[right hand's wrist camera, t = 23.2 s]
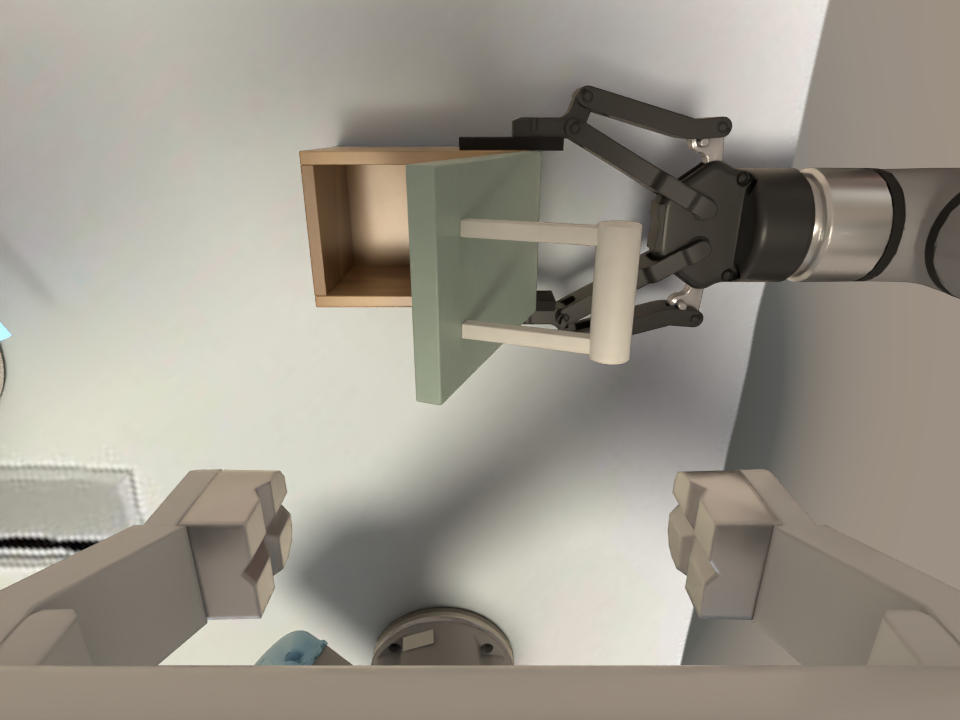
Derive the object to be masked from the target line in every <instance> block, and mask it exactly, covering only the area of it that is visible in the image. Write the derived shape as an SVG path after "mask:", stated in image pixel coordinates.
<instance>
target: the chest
mask: <svg viewBox="0 0 960 720" xmlns="http://www.w3.org/2000/svg"><path fill="white" fill-rule="evenodd" d="M519 151H529V150H459V146H335V147H329V148H321V149H313V150H305V151H299V155H300V164H301V174H302V183H303V192H304V201H305V211H306V220H307V229H308V238H309V247H310V256H311V265H312V275H313V284H314V293H315V301H316V307H412V294H411V272H410V251H409V229H408V207H407V186H406V165H408V164H416V163H425V162H433V161H442V160H451V159H459V158H468V157H476V156H485V155H494V154H502V153H511V152H519Z"/></svg>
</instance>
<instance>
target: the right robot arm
mask: <svg viewBox="0 0 960 720" xmlns="http://www.w3.org/2000/svg"><path fill="white" fill-rule="evenodd" d="M10 336H11V334H10V333H9V332H8V331H7V330H6V329H5V327H4V326H3V325H2V324H1V323H0V340H3V339H5V338H8V337H10ZM3 382H4V366H3V360H2V356H1V352H0V394H1V391H2V388H3ZM286 494H287V488H286V483H285V477H284V475H283V474H282V473H281V471H263V470H221V469H211V470H193V471H189V473H188V474H187V475H186V476H185V477H184V478H183V479H182V481H181V482H180V483H179V484H178V485H177V486H176V488H175V489H174V490H173V491H172V492H171V493H170V494H169V496H168V497H167V498H166V499H165V500H164V501H163V503H162V504H161V505H160V506H159V507H158V508H157V510H156V511H155V512H154V513H153V514H152V515H151V517H150V518H149V519H148V520H147V521H146V522H145V524H144V525H135V526H131V527H129V528H127V529H125V530H123V531H121V532H119V533H117V534H115V535H113V536H111V537H109V538H107V539H105V540H103V541H101V542H99V543H97V544H95V545H92V546H90V547H88V548H86V549H84V550H82V551H80V552H78V553H76V554H74V555H72V556H70V557H68V558H66V559H64V560H62V561H60V562H58V563H56V564H53V565H51V566H49V567H47V568H45V569H43V570H41V571H39V572H37V573H35V574H33V575H31V576H29V577H27V578H25V579H23V580H21V581H19V582H17V583H15V584H12V585H10V586H8V587H6V588H4V589H2V590H0V720H960V591H959V590H957V589H955V588H953V587H951V586H949V585H947V584H945V583H943V582H941V581H939V580H937V579H935V578H933V577H931V576H929V575H927V574H925V573H923V572H921V571H919V570H916V569H914V568H912V567H910V566H908V565H906V564H904V563H902V562H900V561H898V560H896V559H894V558H892V557H890V556H888V555H886V554H884V553H882V552H880V551H878V550H876V549H874V548H871V547H869V546H867V545H865V544H863V543H861V542H859V541H857V540H855V539H853V538H851V537H849V536H847V535H845V534H843V533H841V532H839V531H837V530H835V529H833V528H831V527H829V526H825V525H816V524H815V523H814V521H813V520H812V519H811V518H810V517H809V516H808V514H807V513H806V512H805V511H804V510H803V509H802V507H801V506H800V505H799V504H798V503H797V502H796V500H795V499H794V498H793V497H792V496H791V495H790V493H789V492H788V491H787V490H786V489H785V488H784V486H783V485H782V484H781V483H780V482H779V481H778V479H777V478H776V477H775V476H774V475H773V474H772V473H771V472H770V471H768V470H765V469H754V470H730V471H690V472H678V473H677V475H676V478H675V481H674V487H673V494H674V496H675V498H676V500H677V502H678V504H679V505H678V506H677V507H676V508H675V509H674V510H673V511H672V512H671V513H670V515H669V524H668V540H669V548H670V552H671V556H672V559H673V561H674V564H675V566H676V568H677V569H678V570H679V571H681V572H682V573H684V574H685V575H686V576H687V579H686V586H685V589H686V591H687V593H688V595H689V597H690V600H691V602H692V604H693V606H694V608H695V610H696V613H697V615H698V617H699V618H700V619H735V620H753V623H754V624H755V625H756V626H757V627H758V628H760V629H761V630H762V631H763V632H764V633H765V634H767V635H768V636H769V637H770V638H771V639H772V640H774V641H775V642H776V643H777V644H778V645H780V646H781V647H782V648H783V649H784V650H785V651H787V652H788V653H789V654H790V655H791V656H792V657H794V658H795V659H796V660H797V661H798V662H800V663H801V664H802V665H686V666H685V665H556V666H266V665H158V664H159V663H161V662H162V661H163V660H164V659H165V658H167V657H168V656H169V655H170V654H171V653H172V652H174V651H175V650H176V649H177V648H178V647H180V646H181V645H182V644H183V643H184V642H185V641H187V640H188V639H189V638H190V637H191V636H192V635H194V634H195V633H196V632H197V631H198V630H200V629H201V628H202V627H203V626H204V625H205V624H207V620H224V619H259V618H261V617H262V615H263V613H264V610H265V608H266V606H267V604H268V602H269V599H270V597H271V595H272V593H273V591H274V588H275V586H274V579H273V576H274V575H275V574H276V573H278V572H279V571H281V570H282V569H283V568H284V566H285V564H286V561H287V559H288V556H289V552H290V546H291V541H292V523H291V515H290V513H289V512H288V511H287V510H286V509H285V508H284V507H283V506H282V505H281V504H282V502H283V500H284V498H285V496H286Z"/></svg>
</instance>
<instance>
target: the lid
mask: <svg viewBox="0 0 960 720" xmlns="http://www.w3.org/2000/svg"><path fill="white" fill-rule="evenodd" d="M540 175H541V152H540V151H519V152H511V153H502V154H494V155H485V156H476V157H468V158H459V159H451V160H442V161H433V162H425V163H416V164H408V165H406V186H407V207H408V229H409V251H410V272H411V294H412V316H413V337H414V359H415V381H416V400H417V401H418V402H424V403H430V404H436V405H442V404H443V403H444V402H445V401H446V400H447V399H448V398H449V397H450V396H451V395H452V394H453V393H454V392H455V391H456V390H457V389H458V388H459V387H460V386H461V385H462V384H463V383H464V382H465V381H466V380H467V379H468V378H469V377H470V376H471V375H472V374H473V373H474V372H475V371H476V370H477V369H478V368H479V367H480V366H481V365H482V364H483V363H484V362H485V361H486V360H487V359H488V358H489V357H490V356H491V355H492V354H493V353H494V352H495V351H496V350H497V349H498V348H499V347H500V346H501V345H502V344H503V343H505V344H513V345H520V346H528V347H536V348H544V349H552V350H560V351H568V352H576V353H584V354H588V356H589V358H590V359H591V360H593V361H595V362H598V363H602V364H610V365H615V364H622V363H625V362H627V361H628V360H629V357H630V347H631V337H632V327H633V317H634V307H635V296H636V286H637V276H638V266H639V256H640V246H641V236H642V224H640V223H638V222H632V221H602V222H599V223H598V225H586V224H567V223H548V222H539V204H540ZM538 242H545V243H560V244H576V245H591V246H596V253H595V267H594V281H593V295H592V309H591V323H590V334H588V333H579V332H570V331H562V330H553V329H544V328H535V327H527V326H521V325H522V324H523V323H524V322H525V321H526V320H527V319H528V318H529V317H530V316H531V315H532V314H533V313H534V312H535V311H536V289H537V261H538Z"/></svg>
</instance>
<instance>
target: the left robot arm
mask: <svg viewBox="0 0 960 720" xmlns="http://www.w3.org/2000/svg"><path fill="white" fill-rule="evenodd" d="M590 112H593V113H596V114H599V115H602V116H606V117H609V118H612V119H615V120H618V121H622V122H625V123H628V124H631V125H635V126H638V127H641V128H644V129H648V130H651V131H654V132H657V133H660V134H664V135H667V136H670V137H675V138H682V139H687V146H688V148H689V149H690V150H691V151H695V152H698V153H699V154H700V155H701V157H702V162H701V163H699V164H698V165H696V166H695V167H693V168H692V169H691V170H689V171H688V172H686V173H685V174H683V175H682V176H680V177H679V178H678V179H676V178H674V177H673V176H671V175H669V174H668V173H666V172H664V171H662V170H660V169H659V168H657V167H655V166H654V165H652V164H651V163H649V162H647V161H646V160H644V159H643V158H641V157H639V156H638V155H636V154H635V153H633V152H632V151H630V150H628V149H627V148H625V147H624V146H622V145H620V144H619V143H617V142H616V141H614V140H613V139H611V138H609V137H608V136H606V135H605V134H603V133H601V132H600V131H598V130H597V129H595V128H593V127H592V126H590V125H589V124H587V123H586V122H587V119H588V117H589V114H590ZM731 129H732V122H731V120H730V119H729V118H727V117H707V118H695V119H694V118H691V117H688V116H685V115H682V114H678V113H675V112H672V111H669V110H666V109H663V108H659V107H656V106H653V105H650V104H647V103H643V102H640V101H637V100H634V99H631V98H628V97H624V96H621V95H618V94H615V93H612V92H608V91H605V90H602V89H599V88H596V87H593V86H584V87H581V88H579V89H577V90H576V91H575V92H574V93H573V95H572V100H571V103H570V105H569V108H568V110H567V112H566V113H565V114H564V115H563V116H562V117H559V118H519V119H516V120H514V121H512V137H459V150H529V151H563V145H564V138H567V139H569V140H571V141H572V142H574V143H575V144H577V145H579V146H580V147H582V148H584V149H585V150H587V151H588V152H590V153H592V154H593V155H595V156H596V157H598V158H600V159H601V160H603V161H604V162H606V163H608V164H609V165H611V166H613V167H614V168H616V169H617V170H619V171H621V172H622V173H624V174H625V175H627V176H629V177H630V178H632V179H634V180H635V181H637V182H638V183H640V184H641V185H643V186H644V187H646V188H647V189H649V190H650V191H652V192H654V193H655V194H657V196H656V198H655V200H654V201H652V202H651V211H650V213H651V219H652V226H651V228H650V231H649V234H648V240H647V247H649V250H648V251H646V252H644V253H643V254H641V255H640V256H639V266H638V276H637V286H636V290H637V289H639V288H641V287H643V286H645V285H647V284H650V283H656V282H658V281H660V280H662V279H664V278H666V277H668V276H670V275H672V274H674V275H676V276H677V277H678V278H679V279H681V280H682V281H683V282H685V283H686V285H685V287H684V288H683V289H682V290H681V291H679V292H675V293H672V294H671V295H670V296H669V297H668V299H667V300H657V301H652V302H648V303H644V304H640V305H636V306H635V307H634V317H633V327H632V335H634V334H638V333H642V332H646V331H650V330H653V329H657V328H661V327H665V326H669V325H671V326H684V327H697V326H699V325H700V324H701V323H702V321H703V315H702V313H701V312H699V307H700V302H701V298H702V293H703V289H704V288H707V287H709V286H711V285H713V284H715V283H718V282H780V281H784V280H785V279H788V280H790V281H792V282H835V281H887V282H911V283H917V284H922V285H925V286H928V287H931V288H933V289H936V290H939V291H942V292H945V293H947V294H949V295H951V296H954V297H956V298H959V299H960V168H916V169H875V168H805V169H803V170H801V171H799V170H797V169H794V168H734V167H731V166H729V165H728V164H726V163H725V162H723V147H724V137H725V136H727V135H728V134H729V133H730V131H731ZM592 295H593V282H592V283H590V284H588V285H587V286H585V287H583V288H581V289H579V290H577V291H575V292H573V293H571V294H569V295H568V296H566V297H564V298H562V299H560V300H558V301H556V300H555V298H554V296H553V293H552V291H536V311H535V312H534V313H533V314H532V315H531V316H530V317H529V318H528V319H527V320H526V321H525V322H524V323H523V324H552V325H554V326H556V327H557V328H558V330H562V331H570V332H579V333H588V334H590V323H591V317H590V318H587V319H583V320H579V319H581V318H583V317H585V316H587V315H589V314H591V309H592ZM577 320H579V321H577ZM327 644H328V643H327V642H326V641H325V640H319V639H318V638H316V637H315V636H313V635H312V634H310V633H308V632H306V631H302V630H301V631H294V632H291V633H289V634H287V635H285V636H284V637H282V638H281V639H280V640H279V641H277V642H276V643H275V644H274V645H273V646H272V647H271V648H270V649H269V650H268V651H267V652H266V653H265V654H264V655H263V656H262V657H261V658H260V659H259V660H258V661H257V662H256V664H255V665H266V666H353V665H352V664H351V663H349V662H348V661H347V660H345V659H344V658H343V657H341V656H340V655H339V654H337V653H336V652H335V651H334V650H332V649H331V648H330V647H328V646H327ZM371 666H514V665H513V654H512V649H511V646H510V644H509V642H508V640H507V638H506V637H505V636H504V634H503V633H502V632H501V631H500V630H499V629H498V628H497V627H496V626H495V625H494V624H492V623H491V622H490V621H488V620H486V619H485V618H483V617H481V616H479V615H477V614H474V613H471V612H468V611H464V610H460V609H454V608H430V609H424V610H419V611H416V612H413V613H410V614H407V615H405V616H403V617H401V618H399V619H398V620H396V621H395V622H393V623H392V624H391V625H390V626H389V627H387V628H386V629H385V631H384V632H383V633H382V634H381V636H380V637H379V639H378V641H377V643H376V646H375V650H374V654H373V659H372V664H371Z"/></svg>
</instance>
